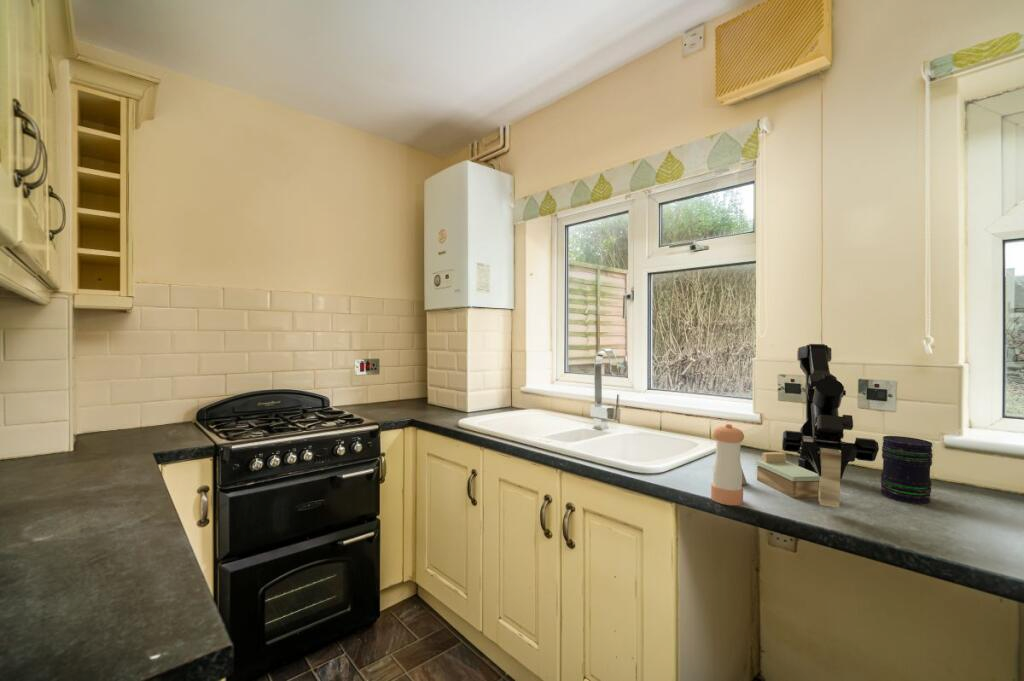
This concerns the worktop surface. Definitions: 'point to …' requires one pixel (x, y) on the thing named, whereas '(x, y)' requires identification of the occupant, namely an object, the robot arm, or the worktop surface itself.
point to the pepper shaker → (727, 466)
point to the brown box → (829, 477)
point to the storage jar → (906, 469)
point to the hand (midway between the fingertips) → (830, 476)
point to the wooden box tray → (788, 484)
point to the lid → (785, 467)
